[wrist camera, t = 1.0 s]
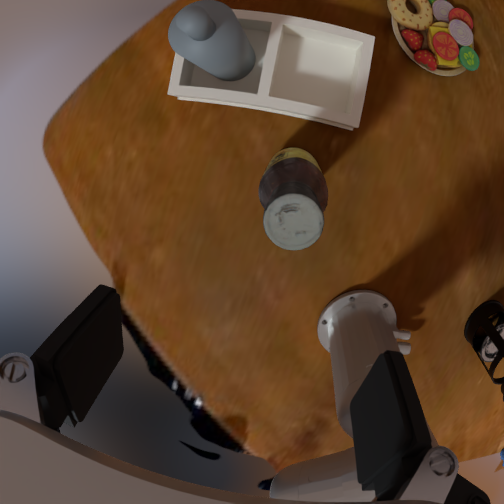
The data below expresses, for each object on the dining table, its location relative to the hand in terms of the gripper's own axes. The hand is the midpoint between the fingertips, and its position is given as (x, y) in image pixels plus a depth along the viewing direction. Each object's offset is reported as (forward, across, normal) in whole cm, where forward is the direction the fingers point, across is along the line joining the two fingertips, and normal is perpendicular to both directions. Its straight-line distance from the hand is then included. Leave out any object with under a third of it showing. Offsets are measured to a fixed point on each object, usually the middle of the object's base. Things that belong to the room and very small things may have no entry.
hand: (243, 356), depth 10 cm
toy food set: (+32, -16, -27) cm, 45 cm away
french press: (+31, -43, +14) cm, 54 cm away
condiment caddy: (+31, +4, -14) cm, 35 cm away
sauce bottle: (+31, -2, -2) cm, 31 cm away
